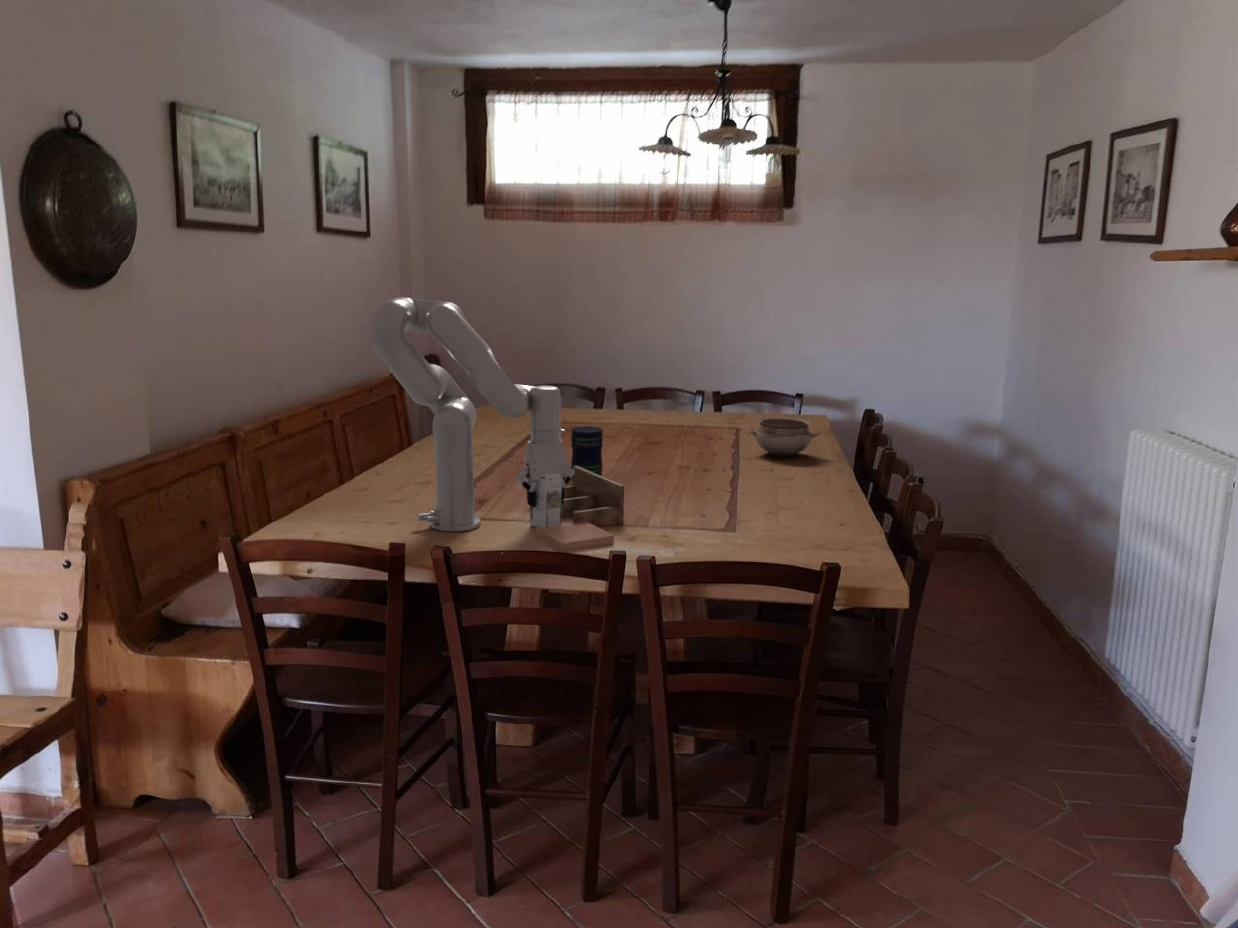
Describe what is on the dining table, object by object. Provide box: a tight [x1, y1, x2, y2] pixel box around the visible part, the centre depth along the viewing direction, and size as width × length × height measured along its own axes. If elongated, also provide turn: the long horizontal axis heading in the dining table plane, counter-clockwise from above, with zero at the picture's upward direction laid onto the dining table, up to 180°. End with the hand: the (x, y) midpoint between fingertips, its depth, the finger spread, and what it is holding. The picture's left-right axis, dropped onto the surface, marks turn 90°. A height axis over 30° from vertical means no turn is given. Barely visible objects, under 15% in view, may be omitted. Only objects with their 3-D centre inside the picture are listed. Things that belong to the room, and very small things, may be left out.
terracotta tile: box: [535, 521, 615, 552], centre depth 229 cm, size 14×14×2 cm
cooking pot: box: [747, 416, 821, 459], centre depth 329 cm, size 25×19×12 cm
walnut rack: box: [561, 466, 625, 528], centre depth 250 cm, size 14×26×10 cm, turn 31°
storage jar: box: [570, 426, 604, 478], centre depth 293 cm, size 10×10×15 cm
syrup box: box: [529, 473, 562, 528], centre depth 239 cm, size 6×6×14 cm
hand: (545, 503), depth 239 cm, fingers closed on syrup box, 7 cm apart
